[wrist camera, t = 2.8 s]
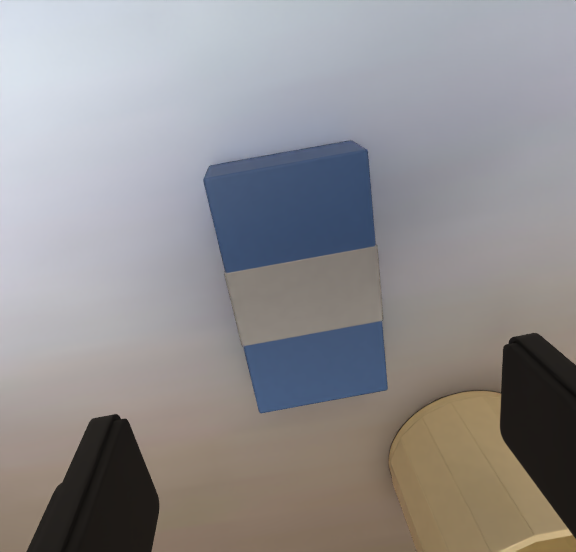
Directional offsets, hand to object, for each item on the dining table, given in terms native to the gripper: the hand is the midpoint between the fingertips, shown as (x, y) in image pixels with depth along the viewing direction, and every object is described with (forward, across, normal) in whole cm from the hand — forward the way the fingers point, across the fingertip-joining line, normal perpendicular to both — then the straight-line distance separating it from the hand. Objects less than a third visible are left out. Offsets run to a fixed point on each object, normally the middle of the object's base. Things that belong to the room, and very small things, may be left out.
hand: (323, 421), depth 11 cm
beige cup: (+9, -8, +12) cm, 16 cm away
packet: (+9, 0, 0) cm, 9 cm away
